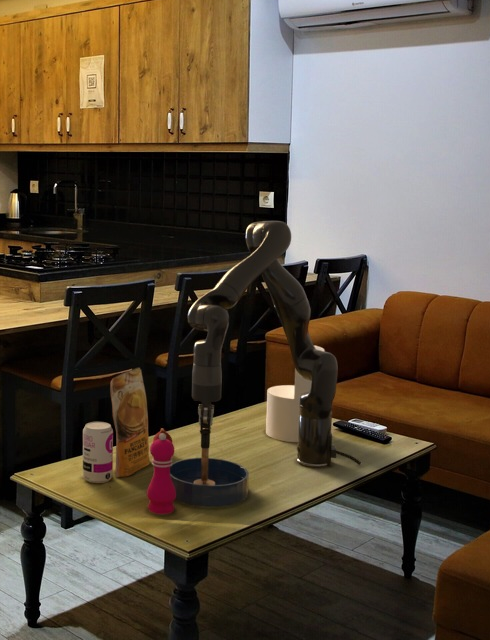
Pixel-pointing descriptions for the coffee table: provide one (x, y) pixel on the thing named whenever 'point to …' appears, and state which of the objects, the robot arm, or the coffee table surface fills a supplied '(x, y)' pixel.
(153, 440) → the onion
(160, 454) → the pepper mill
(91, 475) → the supplement can
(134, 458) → the pancake mix bag
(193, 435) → the coffee table surface
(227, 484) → the bowl
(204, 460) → the wooden disc peg
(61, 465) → the coffee table surface
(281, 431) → the cylinder
